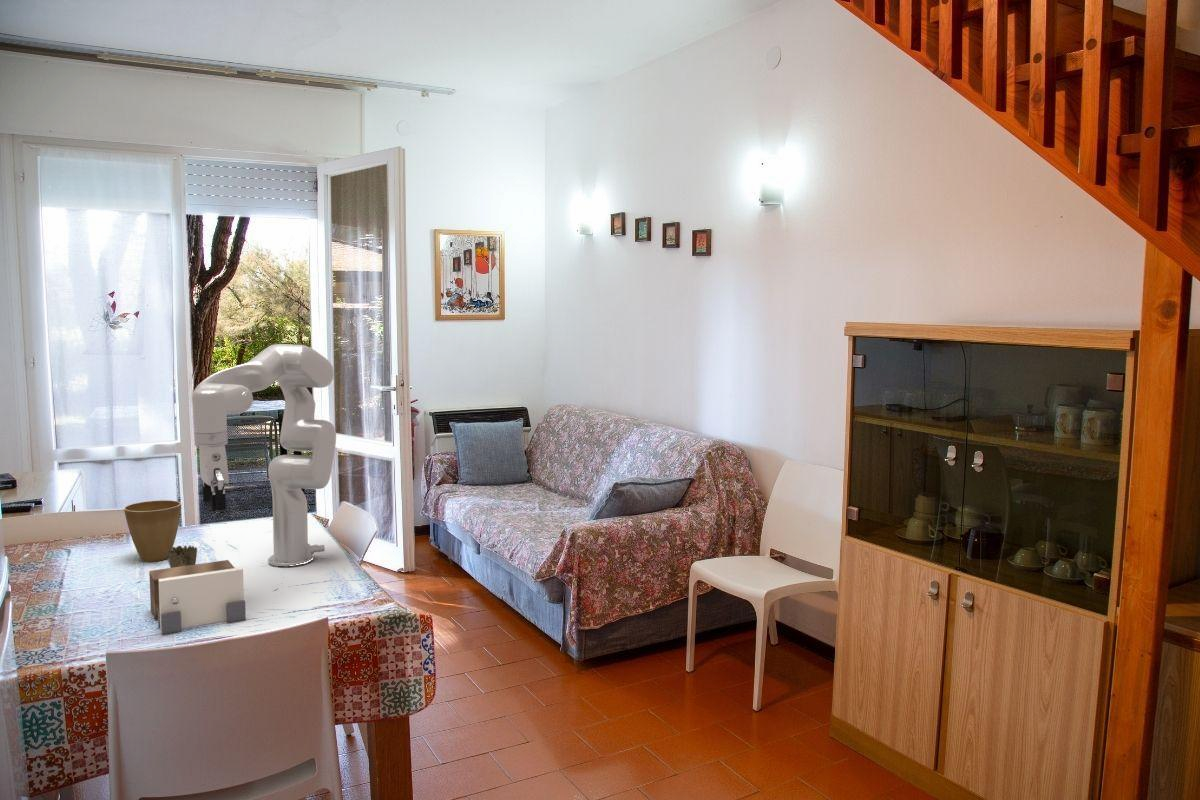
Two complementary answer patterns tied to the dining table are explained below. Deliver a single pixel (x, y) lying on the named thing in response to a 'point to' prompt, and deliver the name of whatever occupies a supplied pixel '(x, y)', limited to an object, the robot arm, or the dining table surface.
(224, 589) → the cabinet door
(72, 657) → the dining table surface
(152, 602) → the cabinet body
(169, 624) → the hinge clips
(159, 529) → the plant pot
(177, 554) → the dark textured ornament
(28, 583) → the dining table surface
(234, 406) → the robot arm
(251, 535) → the dining table surface
